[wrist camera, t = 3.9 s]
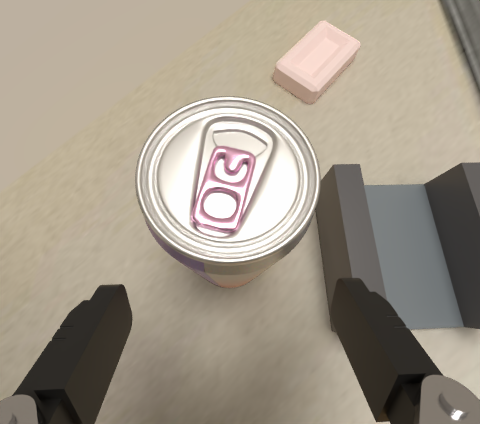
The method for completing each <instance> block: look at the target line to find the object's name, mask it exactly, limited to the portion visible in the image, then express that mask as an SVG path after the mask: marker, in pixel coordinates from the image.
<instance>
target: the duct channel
mask: <svg viewBox="0 0 480 424" xmlns="http://www.w3.org/2000/svg"><path fill="white" fill-rule="evenodd" d="M316 215H317V223H318V230H319V238H320V245H321V253H322V260H323V268H324V275H325V283H326V290H327V298H328V305H329V313H330V320H331V328H332V331H334V332H336V329H335V327H334V325H333V322H332V318H331V304H332V300H333V295H334V291H335V286H336V282H337V280H338V279H339V278H360V279H361V280H362V281H363V282H364V284H365V285H366V287H367V288H368V290H369V291H370V292H377V293H378V294H379V295H381V296H382V297H383V298H384V299H386V300H387V301H388V302H389V303H390V304H391V306H392V307H393V308H394V310H395V311H396V312H397V314H398V317H400V318H401V319H402V321H403V322H404V323H405V325H406V328H408V329H428V328H451V327H468V328H476V329H480V163H460V164H459V165H457V166H455V167H453V168H452V169H450V170H448V171H447V172H445V173H443V174H441V175H440V176H438V177H436V178H434V179H433V180H431V181H429V182H427V183H426V184H416V185H364V183H363V178H362V173H361V168H360V164H340V165H333V166H332V167H331V169H330V170H329V171H328V172H327V174H326V175H325V176H324V178H323V179H322V180H321V186H320V194H319V199H318V203H317V206H316Z"/></svg>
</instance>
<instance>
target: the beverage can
mask: <svg viewBox="0 0 480 424" xmlns="http://www.w3.org/2000/svg"><path fill="white" fill-rule="evenodd" d="M135 186H136V194H137V199H138V203H139V205H140V208H141V211H142V213H143V215H144V218H145V221H146V224H147V226H148V228H149V230H150V232H151V233H152V235H153V237H154V238H155V239H156V241H157V242H158V243H159V245H160V246H161V247H162V248H163V249H164V250H165V251H166V252H167V253H169V254H170V255H171V256H172V257H174V258H175V259H176V260H178V261H179V262H181V263H182V264H184V265H185V266H187V267H188V268H190V269H191V270H193V271H194V272H196V273H197V274H199V275H200V276H202V277H203V278H205V279H206V280H208V281H209V282H211V283H213V284H215V285H217V286H220V287H225V288H233V287H239V286H242V285H244V284H246V283H248V282H250V281H251V280H253V279H254V278H255V277H257V276H258V275H260V274H261V273H262V272H264V271H265V270H267V269H268V268H269V267H271V266H272V265H274V264H275V263H276V262H278V261H279V260H280V259H282V258H283V257H284V256H286V255H287V254H288V253H289V252H290V251H291V250H292V249H294V247H295V246H296V245H297V244H298V243H299V242H300V240H301V239H302V238H303V236H304V234H305V233H306V231H307V229H308V227H309V225H310V222H311V220H312V217H313V214H314V211H315V209H316V206H317V203H318V199H319V194H320V186H321V176H320V167H319V163H318V159H317V156H316V153H315V151H314V148H313V146H312V144H311V142H310V141H309V139H308V137H307V136H306V135H305V133H304V132H303V131H302V129H301V128H300V127H299V126H298V125H297V124H296V123H295V122H294V121H293V120H292V119H291V118H289V117H288V116H287V115H285V114H284V113H282V112H281V111H279V110H278V109H276V108H274V107H272V106H270V105H268V104H265V103H263V102H260V101H257V100H253V99H249V98H244V97H235V96H220V97H211V98H206V99H202V100H198V101H195V102H192V103H190V104H187V105H185V106H183V107H181V108H179V109H178V110H176V111H174V112H173V113H171V114H170V115H169V116H167V117H166V118H165V119H164V120H163V121H161V122H160V123H159V124H158V125H157V127H156V128H155V129H154V130H153V131H152V133H151V134H150V135H149V137H148V138H147V140H146V142H145V144H144V146H143V148H142V150H141V152H140V155H139V158H138V162H137V167H136V174H135Z"/></svg>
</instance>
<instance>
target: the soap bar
mask: <svg viewBox="0 0 480 424" xmlns="http://www.w3.org/2000/svg"><path fill="white" fill-rule="evenodd" d="M360 47H361V45H360V41H358V40H356V39H355V38H353V37H351V36H350V35H348V34H346V33H345V32H343V31H341V30H340V29H338V28H336V27H335V26H333V25H331V24H330V23H328V22H326V21H320V22H319V23H318V24H317V25H316V26H315V27H314V28H312V29H311V30H310V31H309V32H308V33H307V34H306V35H305V36H304V37H303V38H302V39H301V40H300V41H299V42H298V43H297V44H296V45H295V46H294V47H292V48H291V49H290V50H289V51H288V52H287V53H286V54H285V55H284V56H283V57H282V58H281V59H280V60H279V61H278V62H277V63H276V65H275V70H274V75H273V79H274V82H276V83H277V84H279V85H280V86H282V87H283V88H285V89H286V90H288V91H289V92H291V93H292V94H294V95H295V96H297V97H298V98H300V99H301V100H303V101H304V102H306V103H307V104H311V103H314V102H315V101H316V100H317V99H318V98H319V97H320V95H321V94H322V93H323V92H324V91H325V90H326V89H327V88H328V87H329V86H330V85H331V84H332V82H333V81H334V80H335V79H336V78H337V77H338V76H339V75H340V74H341V73H342V72H343V71H344V69H345V68H346V67H347V66H348V65H349V64H350V63H351V62H352V61H353V60H354V58H355V56H356V54H357V52H358V50H359V49H360Z"/></svg>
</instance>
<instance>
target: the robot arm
mask: <svg viewBox="0 0 480 424" xmlns="http://www.w3.org/2000/svg"><path fill="white" fill-rule="evenodd" d="M331 318H332V322H333V325H334V327H335V329H336V332H337V334H338V336H339V339H340V341H341V343H342V345H343V348H344V350H345V352H346V355H347V357H348V359H349V361H350V364H351V366H352V368H353V370H354V373H355V375H356V377H357V380H358V382H359V384H360V386H361V389H362V391H363V393H364V395H365V398H366V400H367V402H368V405H369V407H370V409H371V411H372V414H373V416H374V418H375V420H376V422H387V421H390V423H391V424H480V400H479V399H478V398H477V397H476V396H475V395H474V394H473V393H472V392H471V391H470V390H469V389H467V388H466V387H465V386H463V385H462V384H460V383H459V382H457V381H455V380H453V379H451V378H448V377H445V376H443V374H442V373H441V372H440V371H439V369H438V368H437V367H436V365H435V364H434V363H433V361H432V360H431V359H430V357H429V356H428V354H427V353H426V352H425V350H424V349H423V348H422V346H421V345H420V344H419V342H418V341H417V340H416V338H415V337H414V335H413V334H412V333H411V331H410V330H409V329H408V328H406V325H405V323H404V322H403V321H402V319H401V318H400V317H398V314H397V312H396V311H395V310H394V308H393V307H392V306H391V304H390V303H389V302H388V301H387V300H386V299H384V298H383V297H382V296H381V295H379V294H378V293H377V292H370V291H369V290H368V288H367V287H366V285H365V284H364V282H363V281H362V280H361V279H360V278H339V279H338V280H337V282H336V286H335V291H334V295H333V300H332V304H331ZM131 326H132V312H131V308H130V304H129V300H128V297H127V293H126V289H125V287H124V285H122V284H119V285H100V286H99V287H98V288H97V290H96V291H95V293H94V295H93V296H92V298H91V299H90V300H84V301H82V302H81V303H80V304H79V305H78V306H77V307H75V308H74V309H73V310H72V311H71V312H70V313H69V314H68V316H67V317H66V318H65V320H64V321H63V323H62V324H61V326H60V329H58V330H57V332H56V333H55V335H54V336H53V338H52V341H50V342H49V343H48V345H47V346H46V348H45V349H44V351H43V352H42V354H41V355H40V357H39V358H38V359H37V361H36V362H35V364H34V365H33V367H32V368H31V370H30V371H29V373H28V374H27V376H26V377H25V379H24V380H23V381H22V383H21V384H20V386H19V387H18V389H17V390H16V391H15V393H14V394H13V395H12V396H11V397H8V398H6V399H3V400H1V401H0V424H95V421H96V418H97V416H98V413H99V411H100V408H101V405H102V403H103V400H104V398H105V395H106V393H107V390H108V387H109V385H110V382H111V380H112V377H113V374H114V372H115V369H116V367H117V364H118V362H119V359H120V356H121V354H122V351H123V349H124V346H125V344H126V341H127V338H128V336H129V333H130V330H131Z"/></svg>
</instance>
